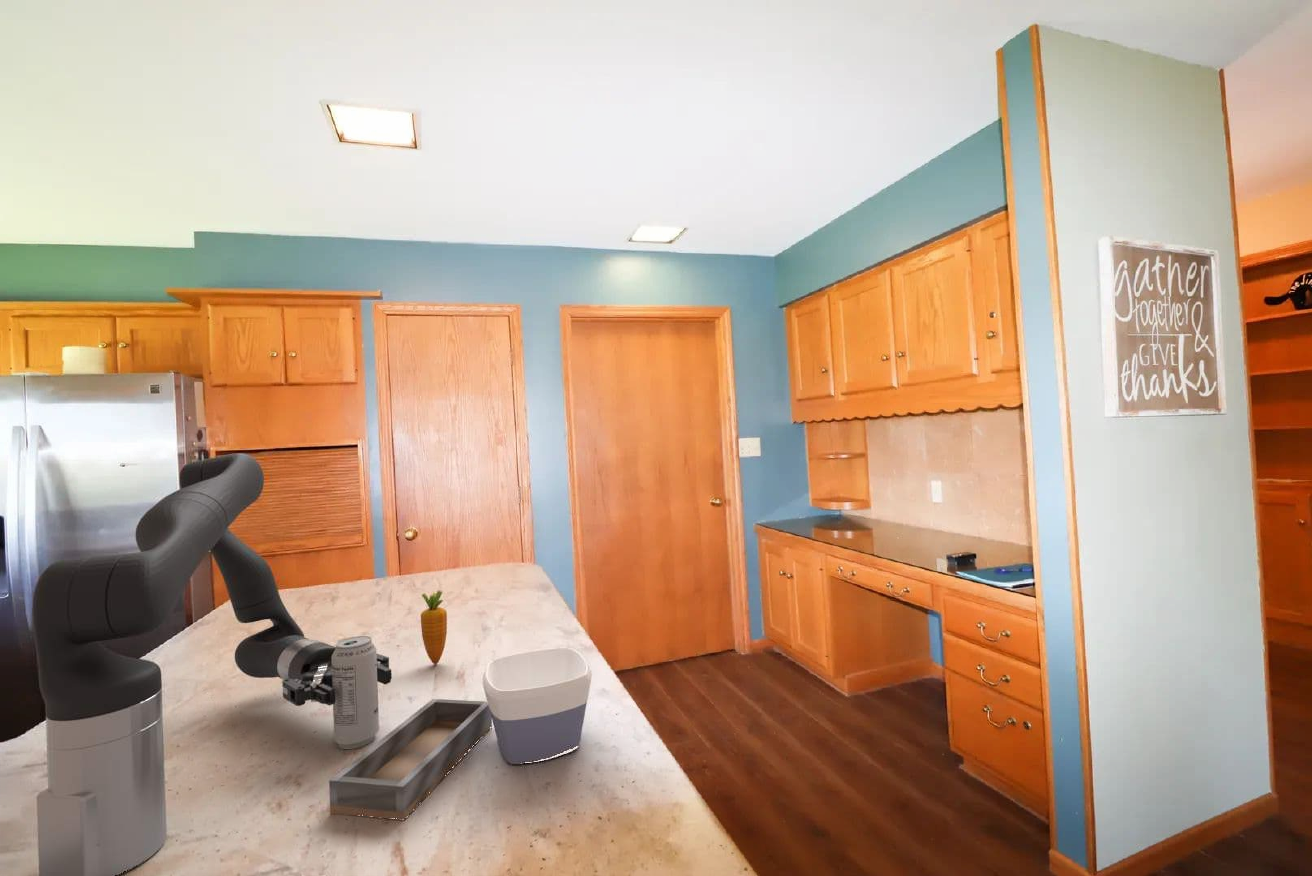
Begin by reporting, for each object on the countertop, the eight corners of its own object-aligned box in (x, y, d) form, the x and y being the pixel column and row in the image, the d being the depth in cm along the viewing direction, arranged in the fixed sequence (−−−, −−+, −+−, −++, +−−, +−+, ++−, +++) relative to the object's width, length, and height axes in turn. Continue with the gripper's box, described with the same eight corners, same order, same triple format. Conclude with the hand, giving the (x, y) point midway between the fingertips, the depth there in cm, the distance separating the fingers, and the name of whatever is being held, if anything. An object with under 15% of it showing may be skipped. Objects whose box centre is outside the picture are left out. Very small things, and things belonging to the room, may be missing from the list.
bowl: (481, 729, 88) (479, 658, 88) (579, 709, 94) (576, 642, 94) (489, 784, 74) (486, 698, 74) (604, 756, 79) (601, 676, 80)
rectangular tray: (404, 820, 67) (403, 786, 67) (330, 813, 69) (329, 780, 69) (491, 727, 89) (491, 701, 89) (433, 723, 91) (432, 698, 91)
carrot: (416, 667, 115) (414, 592, 115) (436, 658, 119) (434, 586, 119) (434, 670, 113) (431, 594, 113) (453, 661, 117) (451, 588, 117)
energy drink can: (386, 737, 87) (383, 638, 87) (346, 755, 82) (342, 651, 82) (367, 726, 91) (364, 632, 91) (327, 743, 86) (323, 643, 86)
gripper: (262, 657, 89) (309, 679, 80) (354, 630, 101) (405, 646, 91) (263, 705, 89) (311, 732, 80) (356, 672, 101) (407, 693, 91)
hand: (361, 686), depth 86 cm, fingers open, 8 cm apart
